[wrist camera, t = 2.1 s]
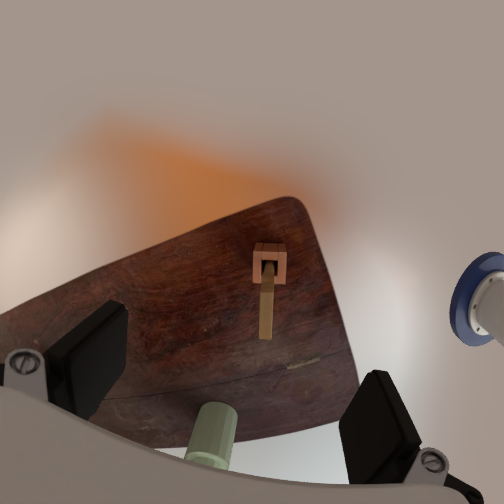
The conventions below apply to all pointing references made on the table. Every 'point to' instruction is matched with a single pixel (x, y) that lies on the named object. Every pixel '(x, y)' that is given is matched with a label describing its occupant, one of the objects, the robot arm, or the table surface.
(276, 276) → the holder
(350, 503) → the robot arm
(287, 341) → the table surface
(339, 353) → the table surface
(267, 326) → the brown long flat piece
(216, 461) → the bottle
